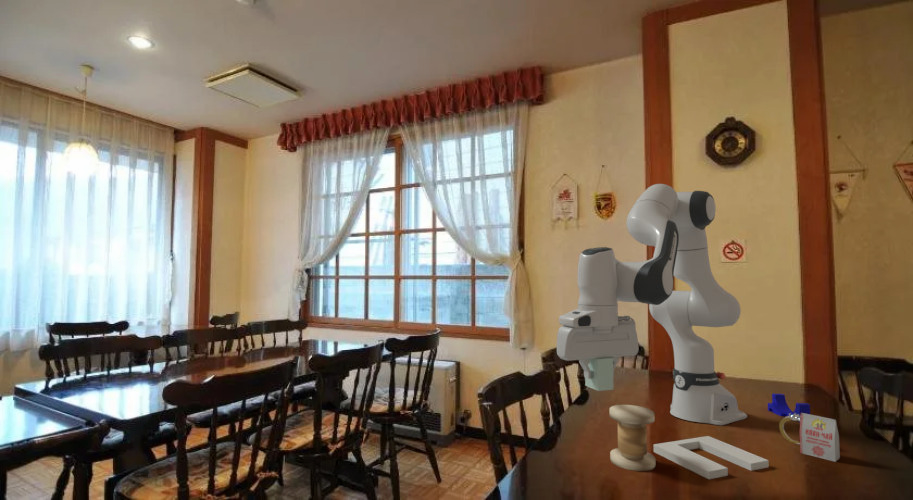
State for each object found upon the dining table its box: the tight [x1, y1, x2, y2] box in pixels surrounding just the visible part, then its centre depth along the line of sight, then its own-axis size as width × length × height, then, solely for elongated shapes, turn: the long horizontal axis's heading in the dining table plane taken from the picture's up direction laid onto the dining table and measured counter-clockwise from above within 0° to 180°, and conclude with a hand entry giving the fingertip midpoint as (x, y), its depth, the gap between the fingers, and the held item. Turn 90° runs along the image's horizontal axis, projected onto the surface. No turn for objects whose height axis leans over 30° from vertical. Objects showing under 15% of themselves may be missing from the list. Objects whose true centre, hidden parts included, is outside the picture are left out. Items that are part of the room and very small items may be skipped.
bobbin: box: [609, 404, 657, 472], centre depth 105 cm, size 10×10×12 cm
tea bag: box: [799, 413, 841, 463], centre depth 107 cm, size 4×7×10 cm, turn 37°
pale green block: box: [584, 357, 614, 392], centre depth 102 cm, size 4×5×7 cm
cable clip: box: [767, 393, 811, 423], centre depth 137 cm, size 12×4×6 cm, turn 178°
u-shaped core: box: [653, 435, 770, 480], centre depth 105 cm, size 18×16×2 cm
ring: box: [778, 413, 801, 445], centre depth 115 cm, size 7×3×8 cm, turn 28°
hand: (599, 377), depth 101 cm, fingers closed on pale green block, 4 cm apart
